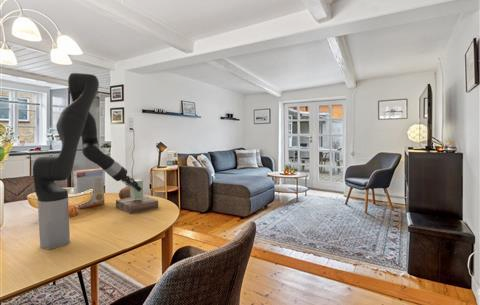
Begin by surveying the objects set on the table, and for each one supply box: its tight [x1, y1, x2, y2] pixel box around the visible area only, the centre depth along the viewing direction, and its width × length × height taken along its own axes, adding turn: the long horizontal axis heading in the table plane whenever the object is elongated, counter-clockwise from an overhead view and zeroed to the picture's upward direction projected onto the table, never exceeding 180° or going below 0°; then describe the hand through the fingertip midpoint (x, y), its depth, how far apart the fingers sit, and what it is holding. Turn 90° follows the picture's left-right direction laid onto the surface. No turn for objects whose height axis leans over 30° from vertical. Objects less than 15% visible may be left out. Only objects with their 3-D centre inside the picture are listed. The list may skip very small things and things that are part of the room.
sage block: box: [129, 178, 144, 199], centre depth 147 cm, size 5×5×10 cm
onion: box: [118, 185, 130, 200], centre depth 161 cm, size 10×9×10 cm
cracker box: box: [72, 168, 106, 210], centre depth 150 cm, size 14×6×21 cm, turn 139°
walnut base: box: [115, 195, 159, 215], centre depth 148 cm, size 18×16×4 cm
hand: (138, 189), depth 148 cm, fingers closed on sage block, 5 cm apart
